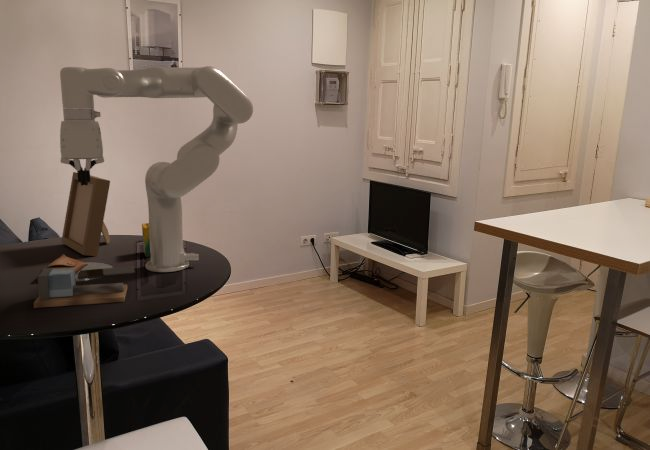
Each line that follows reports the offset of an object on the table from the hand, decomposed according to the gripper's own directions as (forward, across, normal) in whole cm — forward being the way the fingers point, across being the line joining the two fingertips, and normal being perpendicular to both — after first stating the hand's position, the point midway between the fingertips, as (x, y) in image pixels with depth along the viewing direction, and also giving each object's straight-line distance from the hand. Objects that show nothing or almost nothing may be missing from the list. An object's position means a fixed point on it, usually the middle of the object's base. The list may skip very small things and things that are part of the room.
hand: (84, 184), depth 143 cm
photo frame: (+26, +1, -34) cm, 43 cm away
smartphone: (+27, -4, -3) cm, 27 cm away
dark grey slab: (+25, +9, +17) cm, 32 cm away
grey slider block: (+25, +5, +17) cm, 31 cm away
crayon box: (+26, -16, -21) cm, 37 cm away
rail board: (+26, +1, +18) cm, 32 cm away
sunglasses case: (+27, +8, -6) cm, 29 cm away
